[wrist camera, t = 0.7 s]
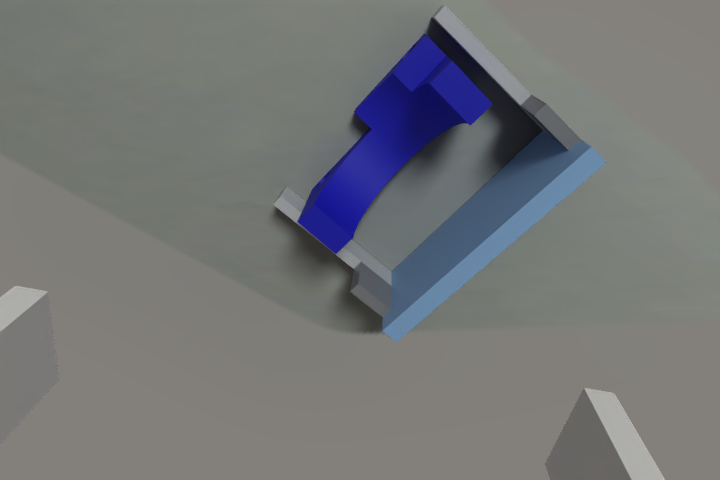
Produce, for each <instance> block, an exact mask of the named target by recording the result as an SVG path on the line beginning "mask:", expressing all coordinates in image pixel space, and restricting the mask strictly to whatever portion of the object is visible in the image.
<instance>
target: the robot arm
mask: <svg viewBox="0 0 720 480" xmlns="http://www.w3.org/2000/svg"><path fill="white" fill-rule="evenodd" d="M58 380H59V374H58V366H57V358H56V350H55V342H54V335H53V326H52V317H51V311H50V301H49V293H48V292H47V291H42V290H36V289H31V288H25V287H20V286H15V287H14V288H12V289H11V290H9V291H8V292H7V293H6V294H4V295H3V296H2V297H0V446H1V445H2V444H3V443H4V442H5V440H6V439H7V438H8V437H9V436H10V435H11V434H12V432H13V431H14V430H15V429H16V428H17V427H18V426H19V425H20V423H21V422H22V421H23V420H24V419H25V418H26V417H27V415H28V414H29V413H30V412H31V411H32V410H33V409H34V408H35V406H36V405H37V404H38V403H39V402H40V401H41V400H42V398H43V397H44V396H45V395H46V394H47V393H48V392H49V390H50V389H51V388H52V387H53V386H54V385H55V384H56V383H57V381H58ZM545 465H546V468H547V471H548V474H549V477H550V480H665V479H664V477H663V476H662V474H661V472H660V470H659V469H658V467H657V466H656V464H655V462H654V460H653V459H652V457H651V455H650V454H649V452H648V450H647V449H646V447H645V445H644V443H643V442H642V440H641V438H640V436H639V435H638V433H637V431H636V430H635V428H634V426H633V425H632V423H631V421H630V419H629V418H628V416H627V414H626V413H625V411H624V409H623V408H622V406H621V404H620V402H619V401H618V399H617V397H616V396H615V394H614V393H610V392H604V391H599V390H593V389H587V388H584V389H583V391H582V393H581V395H580V397H579V399H578V401H577V403H576V404H575V406H574V408H573V410H572V412H571V414H570V416H569V418H568V420H567V422H566V424H565V426H564V428H563V430H562V432H561V434H560V436H559V438H558V439H557V441H556V443H555V445H554V447H553V449H552V451H551V453H550V455H549V457H548V459H547V461H546V463H545Z"/></svg>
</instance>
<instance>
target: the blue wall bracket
mask: <svg viewBox="0 0 720 480" xmlns="http://www.w3.org/2000/svg"><path fill="white" fill-rule="evenodd" d="M432 18H433V19H434V20H435V21H436V22H437V23H438V24H439V25H440V26H441V27H442V28H443V29H444V30H445V31H446V32H447V34H448V35H449V36H450V37H451V38H452V39H453V40H454V41H455V42H456V43H457V44H458V45H459V46H460V47H461V48H462V49H463V50H464V51H465V52H466V53H467V54H468V55H469V56H470V57H471V58H472V59H473V60H474V61H475V62H476V63H477V64H478V65H479V66H480V67H481V68H482V69H483V70H484V71H485V72H486V73H487V74H488V75H489V76H490V77H491V78H492V79H493V80H494V81H495V82H496V83H497V84H498V85H499V86H500V87H501V88H502V89H503V90H504V91H505V92H506V94H507V95H508V96H509V97H510V98H511V99H512V100H513V101H514V102H515V103H516V104H517V105H518V106H519V107H520V108H521V109H522V110H523V111H524V112H525V113H526V114H527V115H528V116H529V117H530V118H531V119H532V120H533V121H534V122H535V123H536V124H537V125H538V126H539V127H540V128H541V129H542V130H543V131H541V132H540V133H539V134H538V135H537V136H536V137H535V138H534V139H533V140H532V141H531V142H530V143H529V144H528V145H527V146H525V147H524V148H523V149H522V150H521V151H520V152H519V153H518V154H517V155H516V156H515V157H514V158H513V159H512V160H511V161H509V162H508V163H507V164H506V165H505V166H504V167H503V168H502V169H501V170H500V171H499V172H498V173H497V174H496V175H495V176H493V177H492V178H491V179H490V180H489V181H488V182H487V183H486V184H485V185H484V186H483V187H482V188H481V189H480V190H478V191H477V192H476V193H475V194H474V195H473V196H472V197H471V198H470V199H469V200H468V201H467V202H466V203H465V204H464V205H462V206H461V207H460V208H459V209H458V210H457V211H456V212H455V213H454V214H453V215H452V216H451V217H450V218H449V219H448V220H446V221H445V222H444V223H443V224H442V225H441V226H440V227H439V228H438V229H437V230H436V231H435V232H434V233H433V234H432V235H430V236H429V237H428V238H427V239H426V240H425V241H424V242H423V243H422V244H421V245H420V246H419V247H418V248H417V249H415V250H414V251H413V252H412V253H411V254H410V255H409V256H408V257H407V258H406V259H405V260H404V261H403V262H402V263H401V264H399V265H398V266H397V267H396V268H395V269H394V270H393V271H392V272H391V271H390V270H389V269H387V268H386V267H385V266H384V265H382V264H381V263H380V262H379V261H378V260H376V259H375V258H374V257H373V256H371V255H370V254H369V253H368V252H367V251H365V250H364V249H363V248H362V247H360V246H359V245H358V244H357V243H356V242H354V241H353V240H352V239H351V240H350V241H349V242H348V243H347V244H346V245H345V246H344V247H343V248H342V249H341V250H340V251H339V252H338V253H337V254H336V255H337V256H338V257H339V258H341V259H342V260H343V261H344V262H346V263H347V264H348V265H349V266H351V267H352V268H353V269H354V270H353V276H352V282H351V289H350V292H351V293H352V294H354V295H355V296H356V297H357V298H359V299H360V300H361V301H363V302H364V303H365V304H366V305H368V306H369V307H370V308H371V309H373V310H374V311H375V312H377V313H378V314H379V315H380V316H382V317H383V321H382V331H383V332H384V333H385V334H387V335H388V336H389V337H391V338H392V339H393V340H394V341H396V342H397V341H398V340H399V339H400V338H402V337H403V336H404V335H405V334H406V333H408V332H409V331H410V330H411V329H412V328H413V327H415V326H416V325H417V324H418V323H419V322H420V321H422V320H423V319H424V318H425V317H426V316H427V315H429V314H430V313H431V312H432V311H433V310H434V309H436V308H437V307H438V306H439V305H440V304H441V303H443V302H444V301H445V300H446V299H447V298H448V297H450V296H451V295H452V294H453V293H454V292H455V291H457V290H458V289H459V288H460V287H461V286H462V285H464V284H465V283H466V282H467V281H468V280H470V279H471V278H472V277H473V276H474V275H475V274H477V273H478V272H479V271H480V270H481V269H482V268H484V267H485V266H486V265H487V264H488V263H489V262H491V261H492V260H493V259H494V258H495V257H496V256H498V255H499V254H500V253H501V252H502V251H503V250H505V249H506V248H507V247H508V246H509V245H510V244H512V243H513V242H514V241H515V240H516V239H517V238H519V237H520V236H521V235H522V234H523V233H524V232H526V231H527V230H528V229H529V228H530V227H531V226H533V225H534V224H535V223H536V222H537V221H538V220H540V219H541V218H542V217H543V216H544V215H546V214H547V213H548V212H549V211H550V210H551V209H553V208H554V207H555V206H556V205H557V204H558V203H560V202H561V201H562V200H563V199H564V198H565V197H567V196H568V195H569V194H570V193H571V192H572V191H574V190H575V189H576V188H577V187H578V186H579V185H581V184H582V183H583V182H584V181H585V180H586V179H588V178H589V177H590V176H591V175H592V174H593V173H595V172H596V171H597V170H598V169H599V168H600V167H602V166H603V165H604V164H605V163H606V161H605V160H604V159H603V158H602V157H601V156H600V155H599V154H598V153H597V152H596V151H595V150H594V149H593V148H592V147H591V146H590V145H588V144H587V143H585V142H584V141H582V140H581V139H580V138H579V137H578V136H577V135H576V134H575V133H574V132H573V131H572V130H571V129H570V128H569V127H568V126H567V125H566V124H565V123H564V122H563V121H562V119H561V118H560V117H559V116H558V115H557V114H556V113H555V112H554V111H553V110H552V109H551V108H550V107H549V106H548V105H547V104H546V103H544V102H543V101H541V100H539V99H538V98H536V97H534V96H532V95H531V94H530V93H529V92H528V91H527V90H526V89H525V88H524V87H523V86H522V85H521V84H520V83H519V82H518V81H517V79H516V78H515V77H514V76H513V75H512V74H511V73H510V72H509V71H508V70H507V69H506V68H505V67H504V66H503V65H502V64H501V63H500V62H499V61H498V60H497V59H496V58H495V57H494V56H493V55H492V54H491V53H490V52H489V51H488V49H487V48H486V47H485V46H484V45H483V44H482V43H481V42H480V41H479V40H478V39H477V38H476V37H475V36H474V35H473V34H472V33H471V32H470V31H469V30H468V29H467V28H466V27H465V26H464V25H463V24H462V23H461V22H460V21H459V19H458V18H457V17H456V16H455V15H454V14H453V13H452V12H451V11H450V10H449V9H448V8H447V7H446V6H445V5H444V6H441V7H440V8H439V9H438V11H437V12H436V13H435V14H434V15H433V16H432ZM305 204H306V202H305V201H304V200H303V199H302V198H301V197H299V196H298V195H297V194H296V193H294V192H293V191H292V190H291V189H290V188H288V187H287V186H286V188H285V189H284V190H283V191H282V192H281V193H280V195H279V196H278V198H277V199H276V201H275V203H274V204H273V205H274V206H276V207H277V208H278V209H279V210H281V211H282V212H283V213H284V214H286V215H287V216H288V217H289V218H291V219H292V220H293V221H294V222H296V223H297V224H298V225H299V226H301V227H302V228H303V229H304V230H306V229H305V228H304V227H303V226H302V225H301V224H299V223H298V222H297V221H298V219H299V217H300V215H301V213H302V211H303V208H304V206H305ZM306 231H307V232H308V233H309V234H311V233H310V232H309V231H308V230H306ZM311 235H312V234H311ZM312 236H313V237H314V238H316V237H315V236H314V235H312ZM316 239H317V238H316ZM317 240H318V239H317ZM318 241H319V242H321V241H320V240H318ZM321 243H322V242H321ZM322 244H323V243H322ZM323 245H324V244H323ZM324 246H325V245H324ZM326 247H327V246H326ZM327 248H328V247H327ZM328 249H329V248H328ZM329 250H330V249H329ZM332 252H333V251H332ZM333 253H334V252H333ZM334 254H335V253H334Z"/></svg>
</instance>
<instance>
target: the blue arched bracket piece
mask: <svg viewBox="0 0 720 480" xmlns="http://www.w3.org/2000/svg"><path fill="white" fill-rule="evenodd" d="M491 105H492V102H491V101H490V100H489V99H488V98H487V97H486V96H485V95H484V94H483V93H482V92H481V91H480V90H479V89H478V88H477V87H476V85H475V84H474V83H473V82H472V81H471V80H470V79H469V78H468V77H467V76H466V75H465V74H464V73H463V72H462V71H461V69H460V68H459V67H458V66H457V65H456V64H455V63H454V62H453V61H452V60H451V59H450V58H448V57H447V56H446V55H445V54H444V53H443V52H442V51H441V50H440V49H439V47H438V46H437V45H436V44H435V43H434V42H433V41H432V40H431V39H430V38H429V37H428V36H427V35H426V34H423V36H422V37H421V38H420V39H419V40H418V41H417V42H416V43H415V44H414V45H413V46H412V48H411V49H410V50H409V51H408V52H407V53H406V54H405V55H404V56H403V57H402V59H401V60H400V61H399V62H398V63H397V64H396V65H395V66H394V67H393V68H392V69H391V71H390V72H389V73H388V74H387V75H386V76H385V77H384V78H383V79H382V80H381V82H380V83H379V84H378V85H377V86H376V87H375V88H374V89H373V90H372V91H371V92H370V94H369V95H368V96H367V97H366V98H365V99H364V100H363V101H362V102H361V103H360V105H359V106H358V107H357V108H356V109H355V112H354V113H355V114H356V115H357V116H358V117H359V118H360V119H362V120H363V121H364V122H365V123H366V124H367V125H368V126H369V127H370V129H369V130H368V131H367V132H366V133H365V134H364V135H363V136H362V137H361V138H360V139H359V140H358V141H357V142H356V143H355V144H354V146H353V147H352V148H351V149H350V150H349V151H348V152H347V153H346V154H345V155H344V156H343V157H342V158H341V159H340V160H339V161H338V162H337V164H336V165H335V166H334V167H333V168H332V169H331V170H330V171H329V172H328V173H327V174H326V175H325V176H324V177H323V178H322V179H321V180H320V182H319V183H318V184H317V185H316V186H315V187H314V188H313V189H312V191H311V193H310V196H309V198H308V200H307V202H306V204H305V206H304V208H303V211H302V213H301V215H300V217H299V219H298V221H297V222H298V223H299V224H301V225H302V226H303V227H304V228H305V229H306V230H308V231H309V232H310V233H311V234H312V235H314V236H315V237H316V238H317V239H318V240H320V241H321V242H322V243H323V244H324V245H325V246H327V247H328V248H329V249H330V250H331V251H333V252H334V253H335V254H337V253H338V252H339V251H340V250H341V249H342V248H343V247H344V246H345V245H346V244H347V243H348V242H349V241H350V240H351V239H352V238H353V236H354V232H355V230H356V227H357V225H358V223H359V221H360V220H361V218H362V216H363V214H364V213H365V211H366V210H367V208H368V207H369V205H370V204H371V203H372V201H373V200H374V198H375V197H376V196H377V195H378V193H379V192H380V191H381V189H382V188H383V187H384V186H385V185H386V183H387V182H388V181H389V180H390V179H391V178H392V177H393V176H394V174H395V173H396V172H397V171H398V170H399V169H400V168H401V167H402V166H403V165H404V164H405V163H406V162H407V161H408V160H409V159H410V158H411V157H412V156H413V155H414V154H416V153H417V152H418V151H419V150H420V149H421V148H422V147H424V146H425V145H426V144H427V143H429V142H430V141H431V140H432V139H434V138H435V137H436V136H438V135H439V134H441V133H442V132H444V131H446V130H447V129H449V128H451V127H453V126H455V125H458V124H461V123H467V124H469V125H471V124H472V123H474V122H475V121H476V120H477V119H478V118H479V117H480V116H481V115H482V114H483V113H484V112H485V111H486V110H487V109H488V108H489V107H490V106H491Z"/></svg>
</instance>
